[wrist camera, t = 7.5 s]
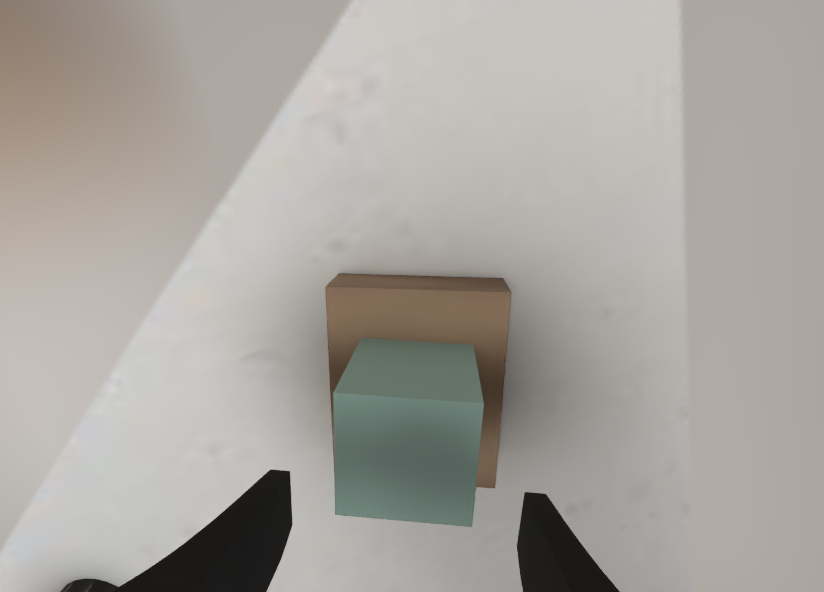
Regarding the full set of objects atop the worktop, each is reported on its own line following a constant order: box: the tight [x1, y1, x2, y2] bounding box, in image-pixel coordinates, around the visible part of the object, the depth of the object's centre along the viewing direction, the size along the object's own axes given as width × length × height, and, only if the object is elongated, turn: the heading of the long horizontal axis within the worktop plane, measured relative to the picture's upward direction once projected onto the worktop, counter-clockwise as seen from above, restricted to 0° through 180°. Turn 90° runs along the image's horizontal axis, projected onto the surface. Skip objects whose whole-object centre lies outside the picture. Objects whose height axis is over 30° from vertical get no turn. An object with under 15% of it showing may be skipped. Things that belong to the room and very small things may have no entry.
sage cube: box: [333, 338, 484, 527], centre depth 17 cm, size 5×5×5 cm
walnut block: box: [326, 274, 511, 488], centre depth 21 cm, size 10×8×3 cm
